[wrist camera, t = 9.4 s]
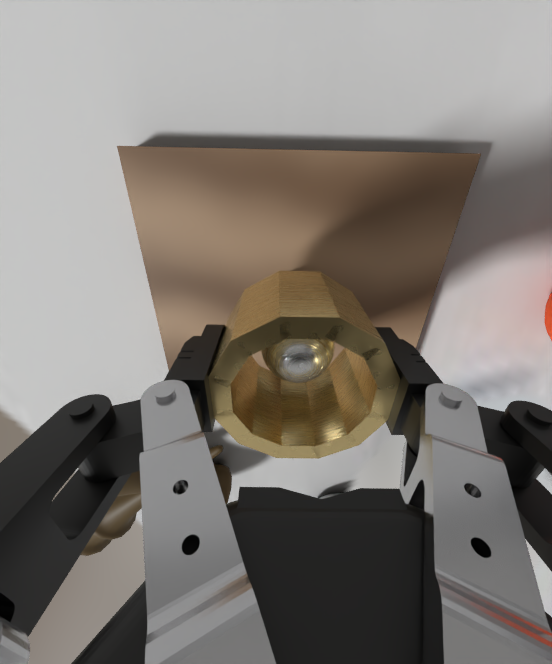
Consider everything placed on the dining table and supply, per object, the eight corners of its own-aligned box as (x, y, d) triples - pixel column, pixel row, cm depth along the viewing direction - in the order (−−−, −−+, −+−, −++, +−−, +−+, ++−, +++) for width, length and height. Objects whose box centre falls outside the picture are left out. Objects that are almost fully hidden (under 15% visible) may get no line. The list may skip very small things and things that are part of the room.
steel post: (265, 271, 15) (258, 332, 9) (320, 272, 15) (347, 333, 9) (265, 320, 16) (259, 398, 11) (315, 321, 16) (335, 399, 11)
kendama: (62, 476, 28) (182, 382, 21) (142, 511, 32) (267, 442, 25) (15, 546, 23) (151, 454, 16) (116, 577, 27) (264, 515, 20)
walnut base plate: (132, 148, 13) (117, 145, 12) (461, 155, 13) (481, 153, 12) (179, 374, 20) (172, 387, 19) (393, 378, 20) (401, 391, 19)
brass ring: (223, 269, 11) (197, 315, 7) (375, 272, 11) (421, 318, 7) (233, 385, 14) (218, 457, 10) (351, 387, 14) (376, 459, 10)
